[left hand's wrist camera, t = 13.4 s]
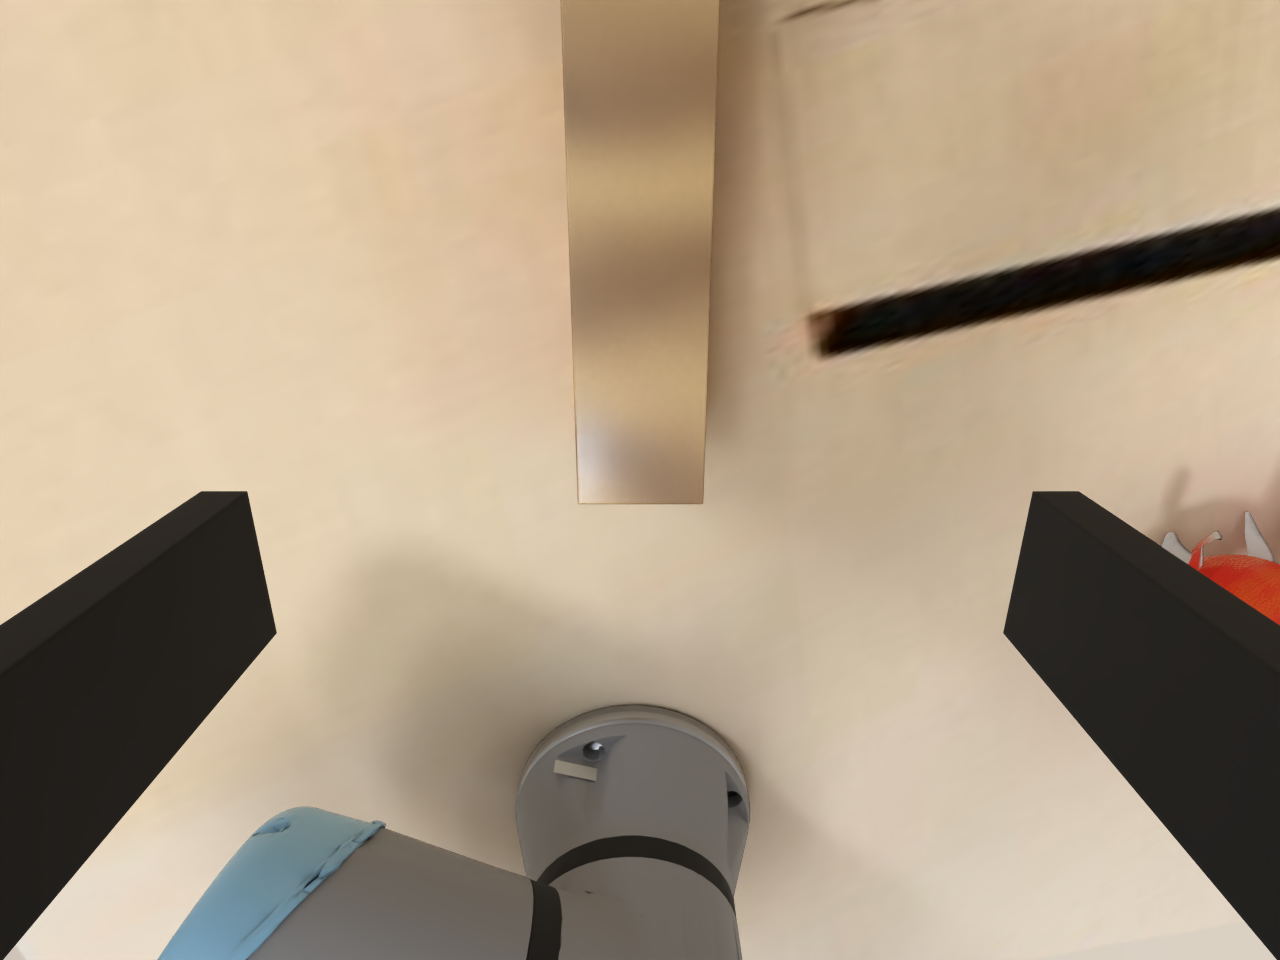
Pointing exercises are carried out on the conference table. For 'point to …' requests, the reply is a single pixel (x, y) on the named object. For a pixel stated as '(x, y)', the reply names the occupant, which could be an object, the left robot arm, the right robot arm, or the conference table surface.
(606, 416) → the post
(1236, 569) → the fish
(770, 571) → the conference table surface
